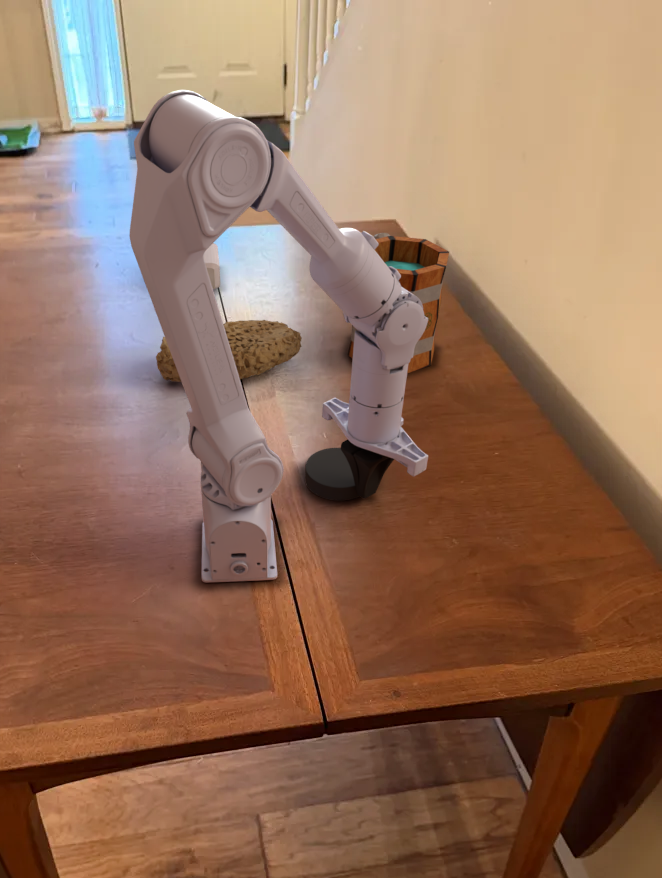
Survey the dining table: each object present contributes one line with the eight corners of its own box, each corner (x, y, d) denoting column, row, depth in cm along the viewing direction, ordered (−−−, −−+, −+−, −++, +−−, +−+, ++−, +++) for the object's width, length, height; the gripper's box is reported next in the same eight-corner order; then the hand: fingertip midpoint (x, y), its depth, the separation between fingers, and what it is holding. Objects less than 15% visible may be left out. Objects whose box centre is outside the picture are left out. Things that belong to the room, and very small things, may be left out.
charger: (166, 308, 128) (167, 269, 139) (222, 305, 129) (218, 268, 140) (163, 280, 125) (164, 243, 136) (220, 278, 126) (217, 241, 137)
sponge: (163, 402, 110) (302, 379, 106) (147, 348, 106) (291, 323, 102) (179, 370, 121) (306, 348, 117) (166, 320, 117) (296, 297, 113)
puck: (375, 499, 92) (376, 486, 91) (308, 502, 92) (308, 489, 90) (365, 459, 98) (366, 446, 96) (302, 461, 97) (302, 448, 96)
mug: (447, 371, 114) (465, 272, 103) (357, 378, 112) (366, 278, 102) (411, 310, 128) (423, 217, 118) (330, 315, 126) (335, 222, 116)
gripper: (454, 409, 80) (435, 510, 89) (356, 354, 88) (348, 451, 97) (406, 434, 77) (392, 536, 86) (310, 375, 85) (306, 473, 94)
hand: (366, 493), depth 91 cm, fingers closed
